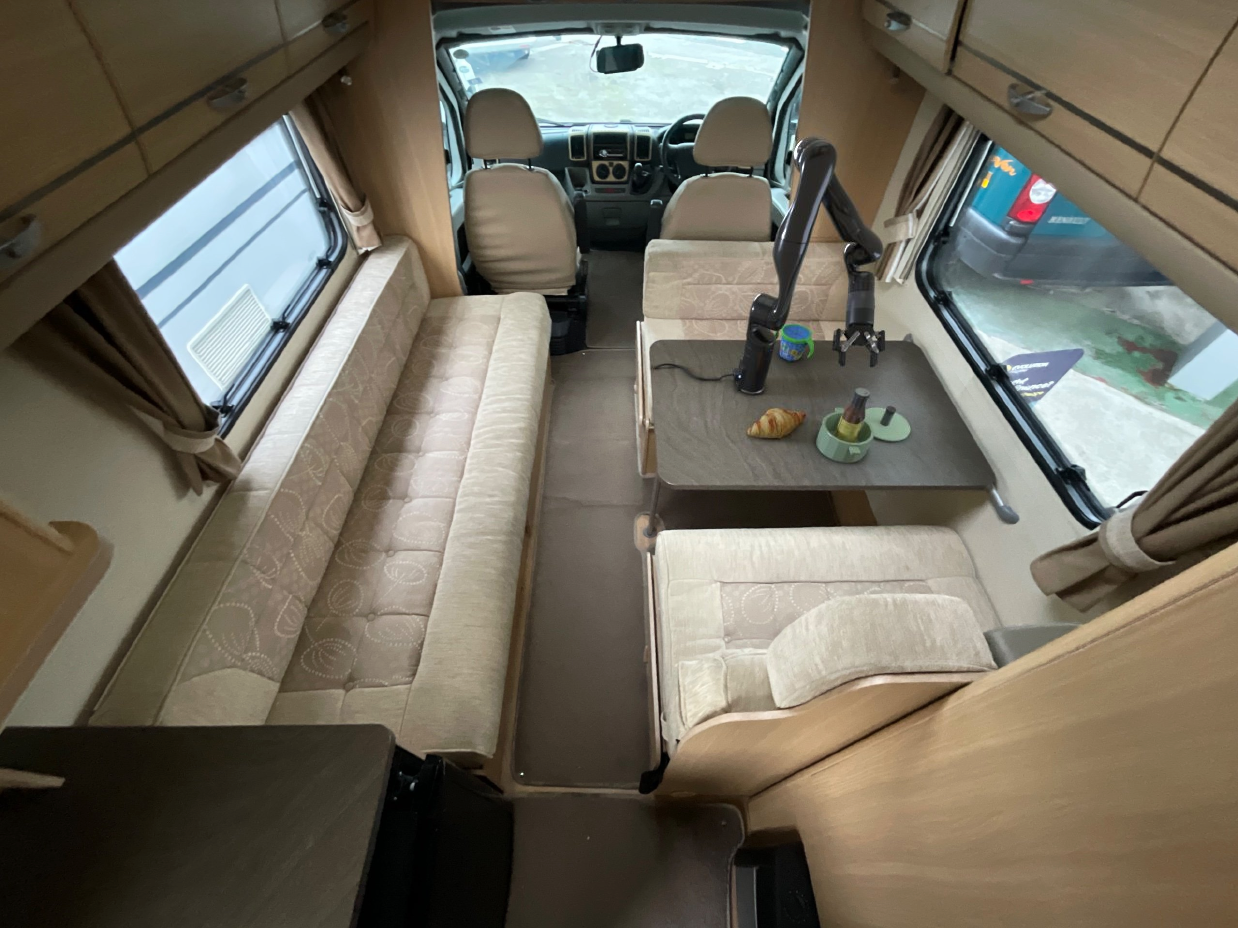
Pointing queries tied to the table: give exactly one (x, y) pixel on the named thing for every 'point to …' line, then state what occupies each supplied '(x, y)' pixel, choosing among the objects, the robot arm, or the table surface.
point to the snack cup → (794, 341)
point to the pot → (840, 448)
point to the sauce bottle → (853, 417)
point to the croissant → (776, 423)
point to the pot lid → (887, 423)
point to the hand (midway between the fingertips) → (857, 366)
